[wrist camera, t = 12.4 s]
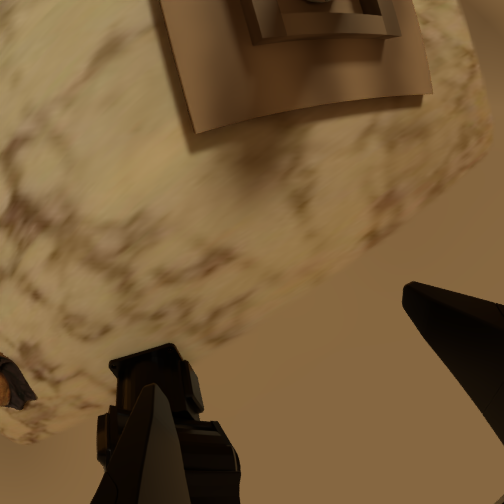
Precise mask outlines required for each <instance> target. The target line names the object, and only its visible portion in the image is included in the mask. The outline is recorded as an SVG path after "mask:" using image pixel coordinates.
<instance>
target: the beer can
mask: <svg viewBox="0 0 504 504" xmlns="http://www.w3.org/2000/svg"><path fill="white" fill-rule="evenodd" d="M308 1H311V2H320V3H322V2H328V1H331V0H308Z"/></svg>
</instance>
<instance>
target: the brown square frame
mask: <svg viewBox="0 0 504 504" xmlns="http://www.w3.org/2000/svg"><path fill="white" fill-rule="evenodd" d="M159 2H160V6H161V10H162V14H163V18H164V22H165V25H166V29H167V33H168V37H169V41H170V45H171V49H172V52H173V56H174V60H175V64H176V68H177V71H178V75H179V79H180V82H181V86H182V90H183V93H184V97H185V101H186V104H187V108H188V112H189V115H190V119H191V122H192V126H193V129H194V133H195V134H198V133H201V132H205V131H208V130H211V129H215V128H219V127H222V126H226V125H230V124H233V123H237V122H241V121H245V120H249V119H254V118H258V117H262V116H267V115H271V114H276V113H280V112H285V111H290V110H295V109H301V108H306V107H312V106H318V105H324V104H330V103H337V102H344V101H352V100H360V99H369V98H378V97H389V96H403V95H420V94H433V89H432V83H431V77H430V71H429V66H428V61H427V56H426V51H425V46H424V42H423V38H422V34H421V30H420V26H419V22H418V19H417V15H416V12H415V9H414V5H413V2H412V0H331V1H328V2H322V3H320V2H311V1H308V0H159Z"/></svg>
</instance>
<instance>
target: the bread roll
mask: <svg viewBox="0 0 504 504" xmlns="http://www.w3.org/2000/svg"><path fill="white" fill-rule="evenodd" d="M36 398H37V396H36V394H35V393H34V392H33V390H32V389H31V388H30V386H29V385H28V383H27V382H26V380H25V379H24V377H23V374H22V373H21V371H20V370H19V368H18V367H17V365H16V364H15V363H14V362H13V361H12V360H10V359H9V358H8V357H6V356H4V355H3V353H1V352H0V406H5V407H11V408H15V409H17V410H22V409H23V406H24V403H25V402H26V401H31V400H36Z"/></svg>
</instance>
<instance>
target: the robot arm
mask: <svg viewBox="0 0 504 504" xmlns="http://www.w3.org/2000/svg"><path fill="white" fill-rule="evenodd" d="M402 305H403V308H404V310H405V311H406V313H407V314H408V316H409V317H410V319H411V320H412V322H413V323H414V324H415V326H416V327H417V329H418V330H419V332H420V334H421V335H422V336H423V338H424V339H425V340H426V341H427V343H428V344H429V345H430V346H431V348H432V349H433V350H434V351H435V353H436V354H437V355H438V356H439V358H440V359H441V360H442V361H443V363H444V364H445V365H446V366H447V367H448V369H449V370H450V372H451V373H452V374H453V375H454V377H455V378H456V379H457V380H458V382H459V383H460V384H461V386H462V387H463V388H464V390H465V391H466V392H467V394H468V395H469V396H470V398H471V399H472V400H473V402H474V403H475V405H476V406H477V407H478V409H479V410H480V411H481V413H483V416H484V417H485V419H486V420H487V422H488V423H489V424H490V426H491V427H492V429H493V430H494V432H495V433H496V435H497V436H498V438H499V439H500V441H501V442H502V444H503V445H504V305H502V304H498V303H494V302H490V301H487V300H483V299H479V298H476V297H472V296H468V295H464V294H461V293H457V292H453V291H449V290H445V289H441V288H438V287H434V286H430V285H426V284H422V283H418V282H415V281H412V282H410V283H408V284H406V285H405V286H404V288H403V297H402ZM170 348H171V350H169V349H170ZM113 365H115V366H113ZM109 369H110V370H111V371H112V372H113V374H114V375H115V376H116V378H117V393H116V406H112V405H110V406H109V411H108V413H106V414H104V415H100V416H98V420H97V460H98V461H99V462H100V463H101V464H102V466H103V467H104V472H105V473H104V475H103V478H102V480H101V482H100V485H99V487H98V489H97V491H96V493H95V495H94V497H93V499H92V501H91V503H90V504H240V497H239V484H240V478H241V471H240V462H239V458H238V455H237V453H236V451H235V449H234V448H233V446H232V444H231V443H230V441H229V439H228V438H227V436H226V434H225V433H224V431H223V429H222V428H221V426H220V424H219V423H218V421H210V422H207V421H200V418H199V413H202V412H203V411H204V406H203V401H202V397H201V392H200V388H199V382H198V377H197V376H196V374H195V372H194V371H193V369H192V367H191V365H190V364H189V362H188V361H186V360H183V358H182V357H181V355H180V353H179V351H178V350H177V348H176V346H175V345H174V344H172V343H167V344H164V345H161V346H158V347H155V348H151V349H148V350H145V351H141V352H138V353H135V354H131V355H128V356H124V357H121V358H118V359H114V360H111V361H110V362H109ZM495 504H504V495H503V496H502V497H501V498H500V499H499V500H498V501H497V502H496V503H495Z"/></svg>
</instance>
